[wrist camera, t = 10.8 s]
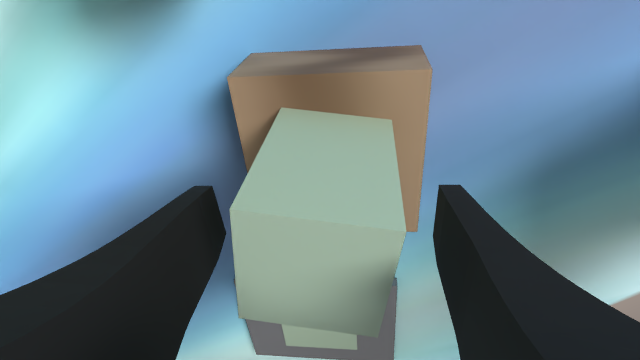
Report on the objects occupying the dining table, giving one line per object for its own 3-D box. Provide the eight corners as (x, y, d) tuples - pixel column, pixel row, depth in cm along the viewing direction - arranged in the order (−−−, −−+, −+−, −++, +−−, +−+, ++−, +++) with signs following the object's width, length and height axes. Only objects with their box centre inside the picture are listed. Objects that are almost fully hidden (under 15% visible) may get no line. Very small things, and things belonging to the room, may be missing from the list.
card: (396, 278, 22) (397, 287, 21) (392, 354, 26) (393, 364, 26) (236, 273, 23) (233, 282, 23) (258, 346, 28) (255, 355, 27)
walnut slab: (419, 43, 15) (432, 69, 12) (409, 186, 19) (417, 231, 16) (252, 51, 16) (226, 77, 13) (275, 185, 20) (259, 229, 17)
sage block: (391, 119, 13) (406, 231, 8) (374, 207, 15) (377, 337, 10) (281, 107, 13) (229, 209, 8) (280, 196, 16) (238, 318, 11)
